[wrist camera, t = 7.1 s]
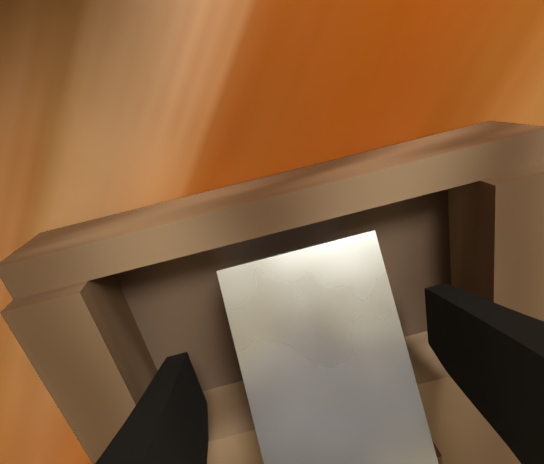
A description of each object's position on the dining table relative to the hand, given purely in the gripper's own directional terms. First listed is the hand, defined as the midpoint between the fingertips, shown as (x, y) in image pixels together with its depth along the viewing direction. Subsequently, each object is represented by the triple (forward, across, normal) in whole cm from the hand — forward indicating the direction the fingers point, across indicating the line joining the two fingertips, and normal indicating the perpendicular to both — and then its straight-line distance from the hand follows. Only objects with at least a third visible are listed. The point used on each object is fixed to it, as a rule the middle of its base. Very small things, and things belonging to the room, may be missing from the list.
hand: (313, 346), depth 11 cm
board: (+3, 0, +7) cm, 8 cm away
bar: (0, 0, +3) cm, 3 cm away
